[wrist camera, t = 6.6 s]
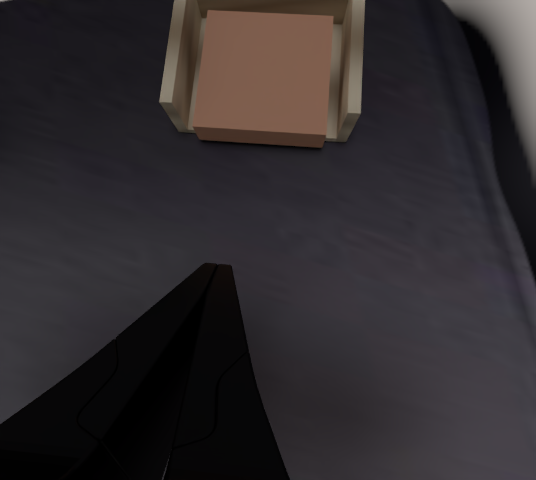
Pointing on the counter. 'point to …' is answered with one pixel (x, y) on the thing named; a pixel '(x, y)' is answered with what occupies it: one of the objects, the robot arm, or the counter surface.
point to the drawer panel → (264, 78)
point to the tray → (306, 3)
